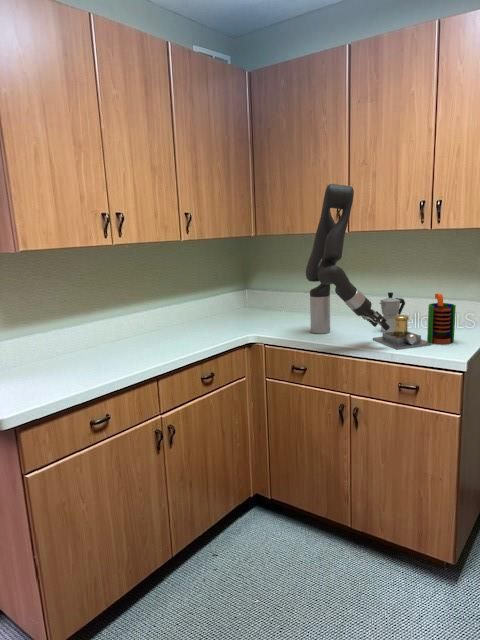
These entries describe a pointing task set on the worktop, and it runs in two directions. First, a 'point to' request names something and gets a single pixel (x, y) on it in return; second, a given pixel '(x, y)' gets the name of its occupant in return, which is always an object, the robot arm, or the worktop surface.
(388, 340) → the coupling base
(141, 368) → the worktop surface
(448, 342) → the motor
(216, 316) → the worktop surface
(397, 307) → the coffee maker
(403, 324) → the gold tall waisted piece
